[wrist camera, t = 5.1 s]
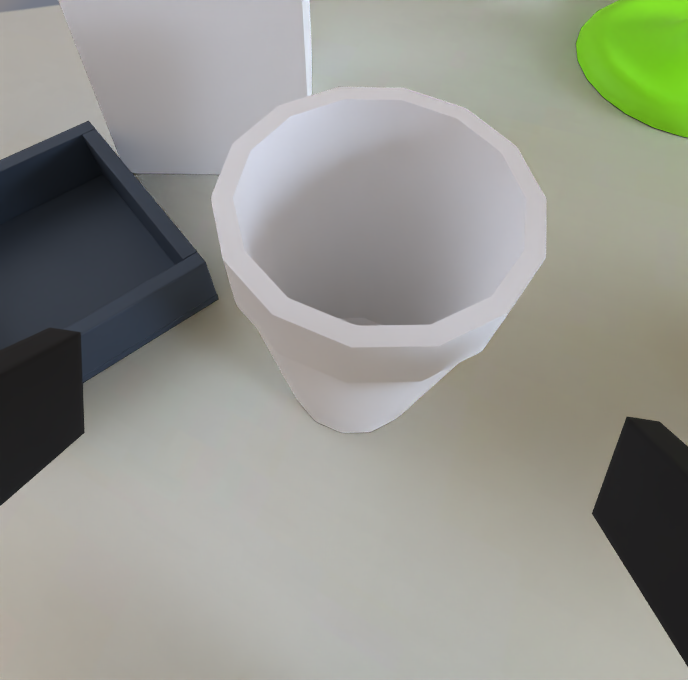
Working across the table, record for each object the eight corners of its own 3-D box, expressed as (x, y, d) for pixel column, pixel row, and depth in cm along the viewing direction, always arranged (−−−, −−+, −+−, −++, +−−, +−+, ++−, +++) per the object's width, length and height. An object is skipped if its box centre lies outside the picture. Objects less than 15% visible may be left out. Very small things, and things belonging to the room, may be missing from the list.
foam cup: (480, 386, 26) (616, 221, 14) (345, 508, 23) (373, 427, 11) (359, 267, 29) (387, 48, 17) (225, 361, 26) (146, 174, 14)
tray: (219, 299, 27) (206, 262, 24) (0, 434, 23) (-48, 411, 20) (111, 167, 31) (88, 120, 28) (-91, 265, 27) (-144, 223, 24)
